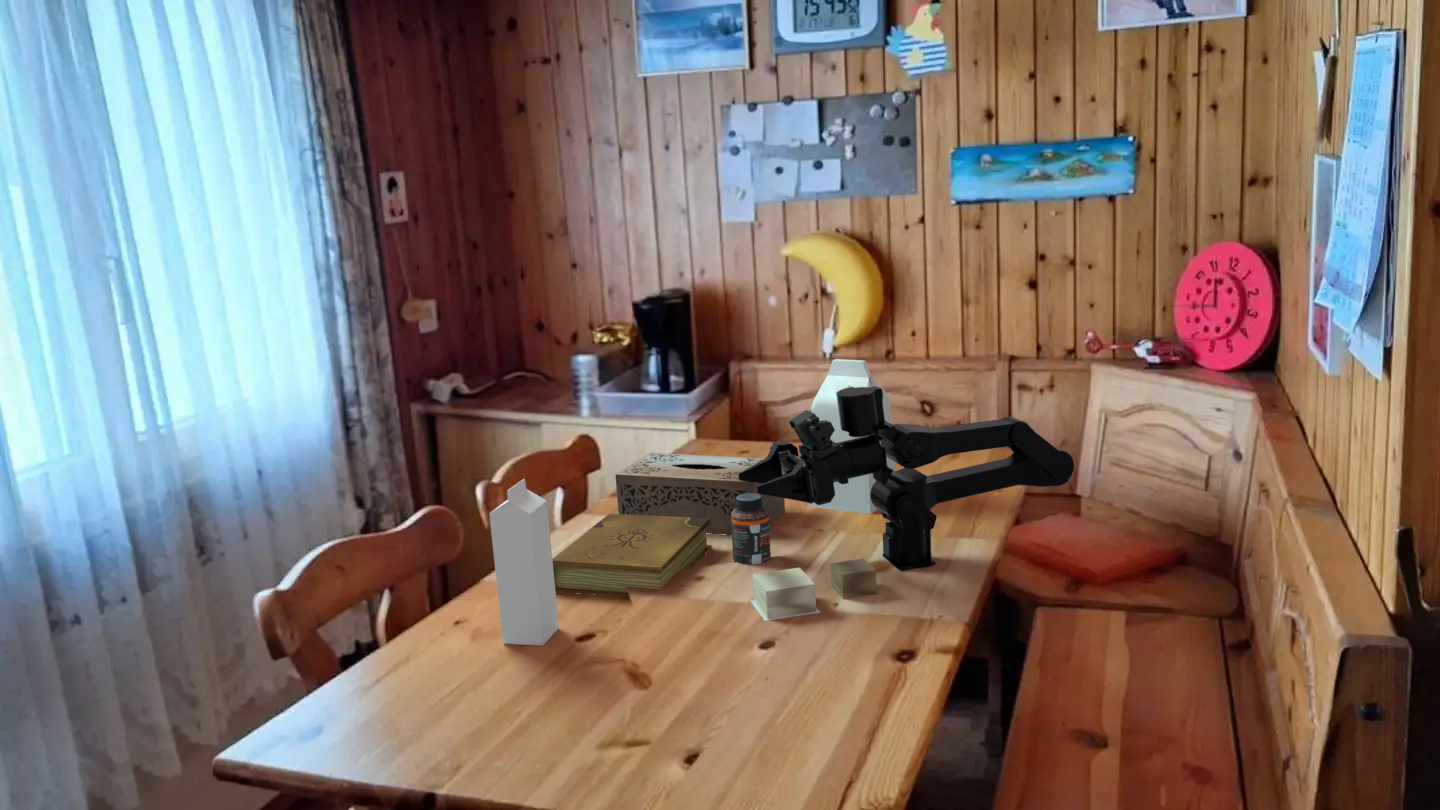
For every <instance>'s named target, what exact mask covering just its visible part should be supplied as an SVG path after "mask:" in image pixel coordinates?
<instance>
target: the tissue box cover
mask: <svg viewBox="0 0 1440 810" xmlns="http://www.w3.org/2000/svg"><path fill="white" fill-rule="evenodd" d="M765 458H766V457H745V456H727V455H725V456H724V455H707V454H704V455H703V454H687V453H685V454H684V453H681V454H680V453H665V452H664V453H663V452H649V454H647V455H645V456H644V457H642V458H640V459H638V460H637V461H636V462H633V463H631V464H630V465H629V466H627V467H625V468H624V469H621V470H620V471H618V472H617V473H615V474H614V475H615V485H616V488H615V489H616V498H617V509H618V510H617V511H618V514H629V515H651V516H673V517H695V518H710V524H709V525H708V526H707V527H706V533H710V534H709V535H712V534H726V535H732V528H731V513H732V511H733V510H734V509H736V508H737V505H736V497H737V496H739V495H741V494H748V493H753V494H758V492H757V486H759V485H761V484H763V483H755V482H746V481H740V480H739V476H738V474H739V473H740V472H742V471H744V470H746V469H748V468H749V467H751V466H753V465H755V464H757V463H758V462H760V461H762V460H763V459H765ZM759 495H761V496H762V506H763V507H764V508H765V509H767V511H768V513H769V527H771V525H773V523H775V522H776V521H777V520H778V519H780V517H781V516H782V515H783V514H785V513H786V507H785V502H786V501H785V498H780V497H774V496H768V495H762V494H759ZM711 533H712V534H711Z"/></svg>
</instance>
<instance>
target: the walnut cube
mask: <svg viewBox="0 0 1440 810" xmlns="http://www.w3.org/2000/svg"><path fill="white" fill-rule="evenodd" d="M876 575H877V571H876V569H875V568H874V567H873V566H872V565H871V564H870V563H869V562H868V561H867V560H865V558H858V559H851V560H845V561H838V562H831V563H830V579H831V588H832V589H833V590H834V591H835V592H836V594H838V595H839V596H840V597H841V599H843V600H845V599H851V598H858V597H864V596H871V595H877V576H876Z"/></svg>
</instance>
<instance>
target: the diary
mask: <svg viewBox="0 0 1440 810" xmlns="http://www.w3.org/2000/svg"><path fill="white" fill-rule="evenodd" d="M709 524H710V518H695V517H673V516H651V515H629V514H619V513H608V514H607V515H606V516H604V517H603V518H602V519H601V520H599V521H598V522H597V523H595V524H594V525H593V526H592V527H591V528H589V529H588V530H587V531H586V532H585V533H583V534H581V535H580V536H579V537H578V538H577V539H576V540H575V541H573V542H572V543H571V544H569V545H568V546H566V548H564V549H563V550H562V551H561V552H559V553H558V554H557V555H555V556H554V557H552V560H553V571H554V581H555V592H563V593H562V594H568V593H581V594H580V595H583V594H596V595H595V596H598V595H605V596H604V597H614V598H615V597H617V598H618V597H619V598H629V597H630V594H629V592H628V590H627V588H636V589H649V590H662V589H663V587H665V586H666V585H667V583H668V582H670V580H672V578H673V577H674V576H675V575H676V574H677V573H679V571H685V570H692V569H694V567H695V566H696V565H697V564H698V563H699V562H700V561H701V560H700V559H701V558H702V557H705V555H706V554H707V553H708V552H709V551H710V550H711V549H712V548H711V547H713V546H712V544H708V541H707V534H706V527H707V526H708V525H709ZM710 548H711V549H710ZM709 549H710V550H709ZM708 550H709V551H708ZM707 551H708V552H707ZM706 552H707V553H706ZM705 553H706V554H705ZM702 559H703V558H702ZM699 560H700V561H699ZM698 561H699V562H698ZM697 562H698V563H697ZM696 563H697V564H696ZM695 564H696V565H695ZM693 566H694V567H693ZM630 598H631V597H630Z"/></svg>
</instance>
